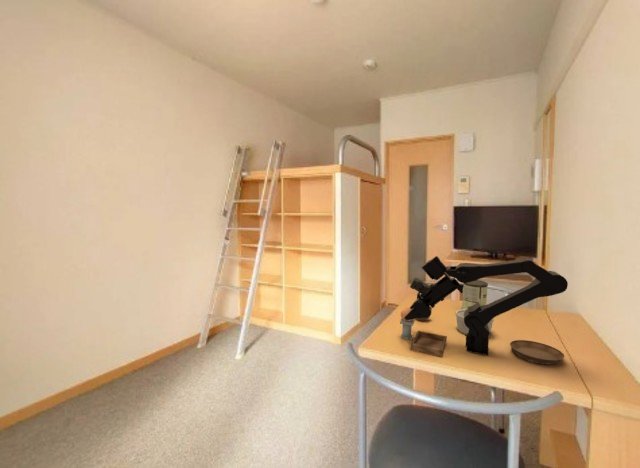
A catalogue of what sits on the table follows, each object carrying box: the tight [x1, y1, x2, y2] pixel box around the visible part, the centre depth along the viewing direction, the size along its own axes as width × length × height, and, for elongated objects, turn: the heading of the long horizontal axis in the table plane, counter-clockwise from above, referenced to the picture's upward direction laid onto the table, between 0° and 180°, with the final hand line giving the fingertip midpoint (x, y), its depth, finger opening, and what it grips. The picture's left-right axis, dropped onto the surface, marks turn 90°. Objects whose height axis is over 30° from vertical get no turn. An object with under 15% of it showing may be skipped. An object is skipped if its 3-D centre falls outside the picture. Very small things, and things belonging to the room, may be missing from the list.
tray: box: [409, 330, 448, 358], centre depth 110 cm, size 10×13×2 cm
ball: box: [400, 307, 413, 322], centre depth 116 cm, size 5×5×5 cm
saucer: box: [509, 339, 565, 365], centre depth 104 cm, size 15×15×3 cm
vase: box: [416, 315, 431, 322], centre depth 135 cm, size 7×7×9 cm
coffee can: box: [461, 279, 489, 310], centre depth 146 cm, size 10×10×14 cm
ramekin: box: [455, 308, 495, 335], centre depth 123 cm, size 13×13×7 cm
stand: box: [399, 317, 416, 340], centre depth 116 cm, size 5×5×6 cm
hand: (406, 314), depth 116 cm, fingers open, 9 cm apart
